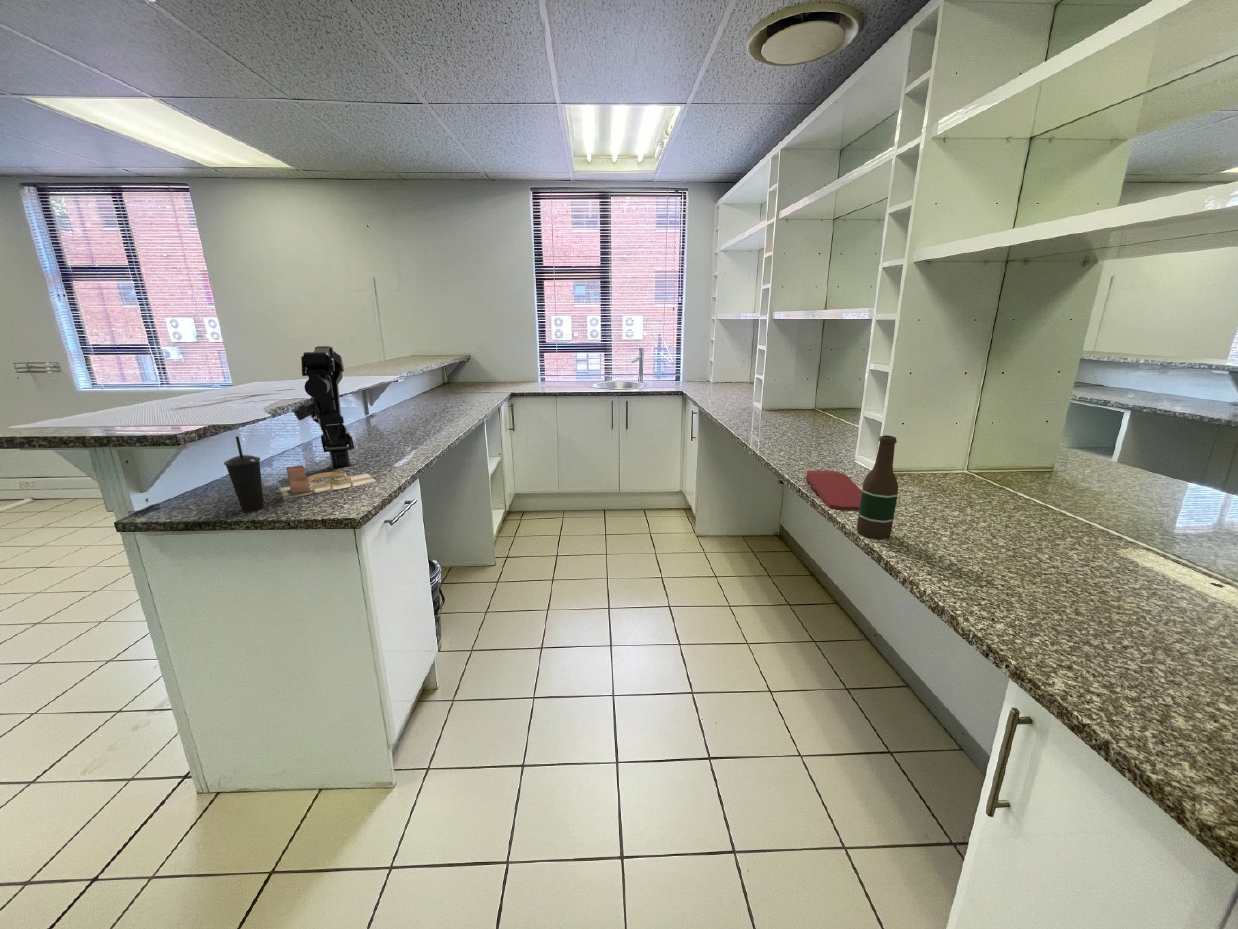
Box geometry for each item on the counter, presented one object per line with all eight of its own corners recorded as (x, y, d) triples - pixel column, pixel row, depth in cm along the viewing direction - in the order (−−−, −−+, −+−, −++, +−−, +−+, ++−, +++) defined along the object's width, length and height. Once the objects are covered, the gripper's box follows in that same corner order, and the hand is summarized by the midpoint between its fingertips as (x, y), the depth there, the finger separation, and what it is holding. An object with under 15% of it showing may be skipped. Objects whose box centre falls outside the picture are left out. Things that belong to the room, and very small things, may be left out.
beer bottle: (897, 540, 112) (915, 440, 105) (863, 540, 112) (879, 440, 106) (881, 527, 119) (897, 433, 113) (849, 526, 120) (863, 432, 113)
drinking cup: (241, 505, 132) (225, 434, 127) (273, 502, 135) (259, 432, 129) (230, 515, 125) (212, 440, 120) (265, 511, 128) (249, 438, 122)
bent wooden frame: (306, 483, 148) (304, 475, 147) (345, 477, 154) (343, 469, 154) (312, 493, 139) (311, 485, 138) (353, 486, 145) (352, 478, 145)
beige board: (280, 491, 144) (279, 487, 144) (368, 476, 159) (367, 472, 158) (285, 502, 135) (284, 497, 135) (377, 485, 150) (377, 481, 149)
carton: (872, 522, 133) (837, 481, 155) (876, 506, 131) (840, 467, 153) (828, 521, 133) (799, 481, 156) (831, 506, 131) (801, 467, 153)
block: (290, 490, 141) (286, 467, 139) (306, 487, 143) (302, 465, 141) (292, 493, 138) (287, 470, 136) (308, 490, 140) (304, 468, 138)
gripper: (287, 392, 150) (296, 441, 155) (296, 399, 137) (305, 452, 141) (328, 389, 157) (335, 436, 161) (340, 395, 143) (348, 446, 148)
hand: (330, 442), depth 153 cm, fingers open, 9 cm apart
